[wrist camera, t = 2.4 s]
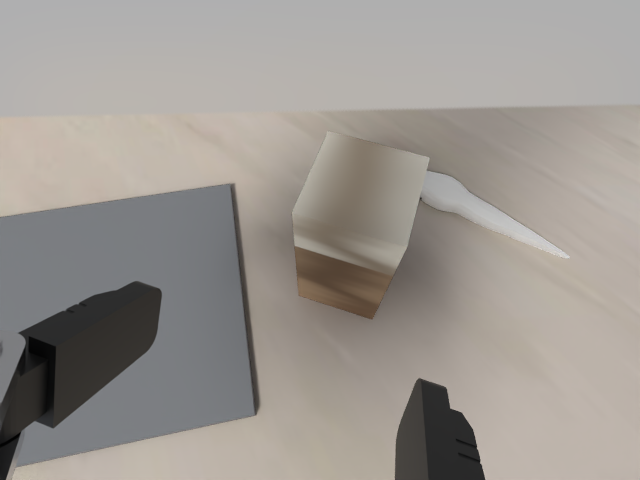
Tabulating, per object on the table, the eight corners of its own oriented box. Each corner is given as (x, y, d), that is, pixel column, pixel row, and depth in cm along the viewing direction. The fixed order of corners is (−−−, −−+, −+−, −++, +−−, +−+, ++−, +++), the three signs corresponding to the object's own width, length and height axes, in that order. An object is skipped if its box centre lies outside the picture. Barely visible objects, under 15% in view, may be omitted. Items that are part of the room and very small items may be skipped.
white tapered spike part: (370, 181, 29) (375, 165, 28) (385, 158, 30) (390, 142, 29) (557, 278, 26) (575, 267, 25) (566, 249, 28) (583, 237, 26)
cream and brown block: (390, 253, 26) (429, 157, 17) (372, 319, 24) (407, 247, 15) (322, 233, 27) (328, 130, 18) (298, 295, 25) (291, 212, 16)
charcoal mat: (231, 188, 29) (229, 183, 28) (256, 415, 21) (254, 414, 21) (-25, 226, 27) (-32, 222, 26) (-97, 491, 19) (-109, 492, 19)
